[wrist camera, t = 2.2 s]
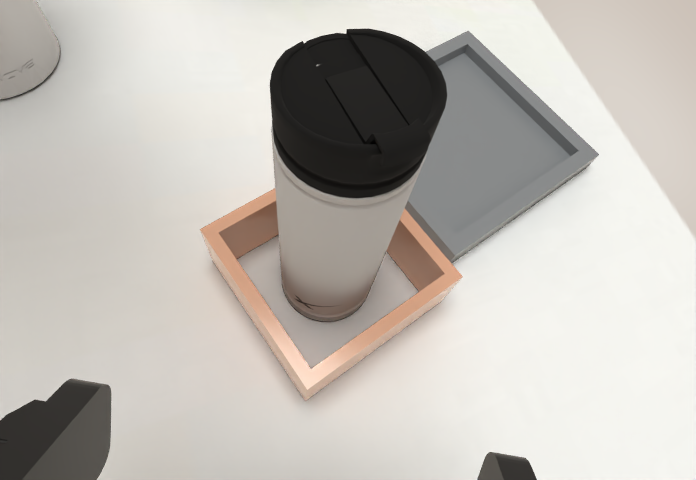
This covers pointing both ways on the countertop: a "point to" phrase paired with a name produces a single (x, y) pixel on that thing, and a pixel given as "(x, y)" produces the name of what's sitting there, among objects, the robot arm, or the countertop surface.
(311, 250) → the travel mug
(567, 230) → the countertop surface
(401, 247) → the holder
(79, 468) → the robot arm
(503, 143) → the tray
